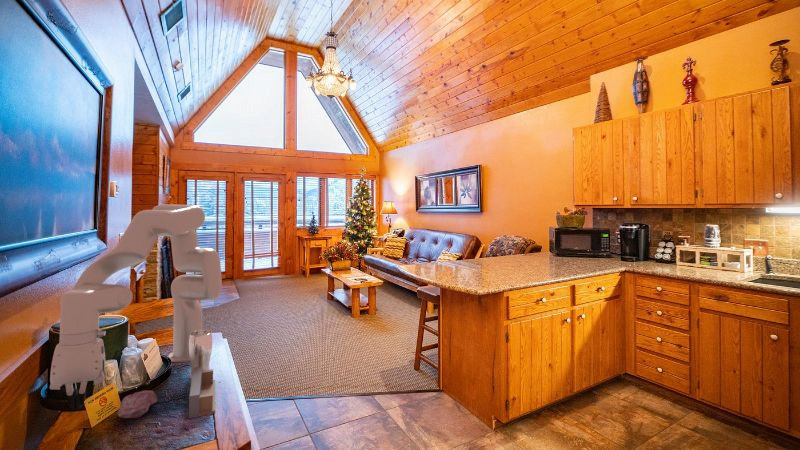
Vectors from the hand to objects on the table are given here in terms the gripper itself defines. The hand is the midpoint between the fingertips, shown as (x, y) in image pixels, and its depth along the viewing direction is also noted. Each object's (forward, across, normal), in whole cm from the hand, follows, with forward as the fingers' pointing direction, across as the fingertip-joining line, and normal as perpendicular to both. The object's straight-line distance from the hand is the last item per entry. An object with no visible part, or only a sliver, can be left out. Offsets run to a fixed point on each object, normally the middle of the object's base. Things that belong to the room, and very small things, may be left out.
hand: (77, 407), depth 91 cm
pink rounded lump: (+4, -13, -1) cm, 13 cm away
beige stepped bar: (+4, -29, -1) cm, 29 cm away
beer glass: (+4, -27, -18) cm, 33 cm away
